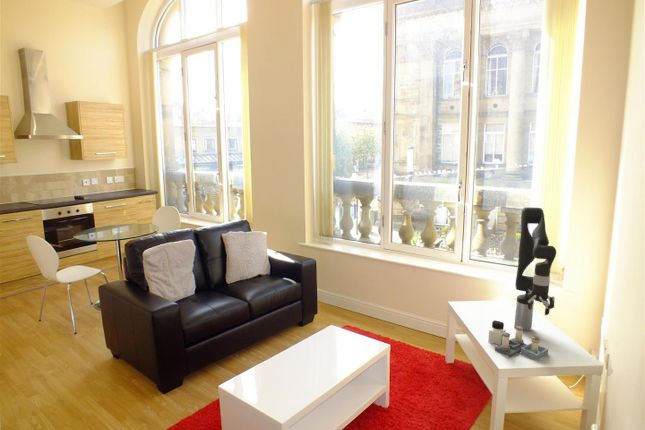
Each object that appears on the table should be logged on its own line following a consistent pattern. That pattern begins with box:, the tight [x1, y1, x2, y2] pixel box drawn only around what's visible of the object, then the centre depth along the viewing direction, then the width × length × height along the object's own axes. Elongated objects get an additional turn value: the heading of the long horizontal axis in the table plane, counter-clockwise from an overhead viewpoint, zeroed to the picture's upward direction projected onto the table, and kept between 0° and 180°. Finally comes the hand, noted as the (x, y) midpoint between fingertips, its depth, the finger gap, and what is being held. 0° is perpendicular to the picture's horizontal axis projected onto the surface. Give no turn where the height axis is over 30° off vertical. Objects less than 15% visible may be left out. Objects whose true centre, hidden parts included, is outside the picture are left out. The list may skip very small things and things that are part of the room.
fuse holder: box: [494, 326, 528, 358], centre depth 225 cm, size 18×9×11 cm, turn 125°
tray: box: [519, 342, 549, 362], centre depth 221 cm, size 11×9×3 cm
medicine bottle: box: [488, 319, 506, 346], centre depth 234 cm, size 7×7×12 cm
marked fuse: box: [530, 335, 540, 354], centre depth 220 cm, size 4×4×9 cm
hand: (538, 312), depth 217 cm, fingers open, 8 cm apart
